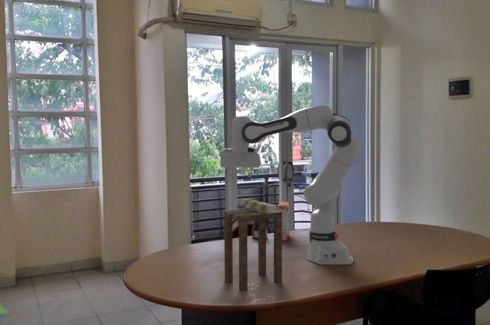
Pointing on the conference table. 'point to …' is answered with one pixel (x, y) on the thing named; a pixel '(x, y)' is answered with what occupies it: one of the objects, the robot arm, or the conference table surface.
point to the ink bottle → (256, 230)
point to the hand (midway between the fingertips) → (240, 176)
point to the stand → (228, 244)
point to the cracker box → (284, 219)
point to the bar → (258, 205)
